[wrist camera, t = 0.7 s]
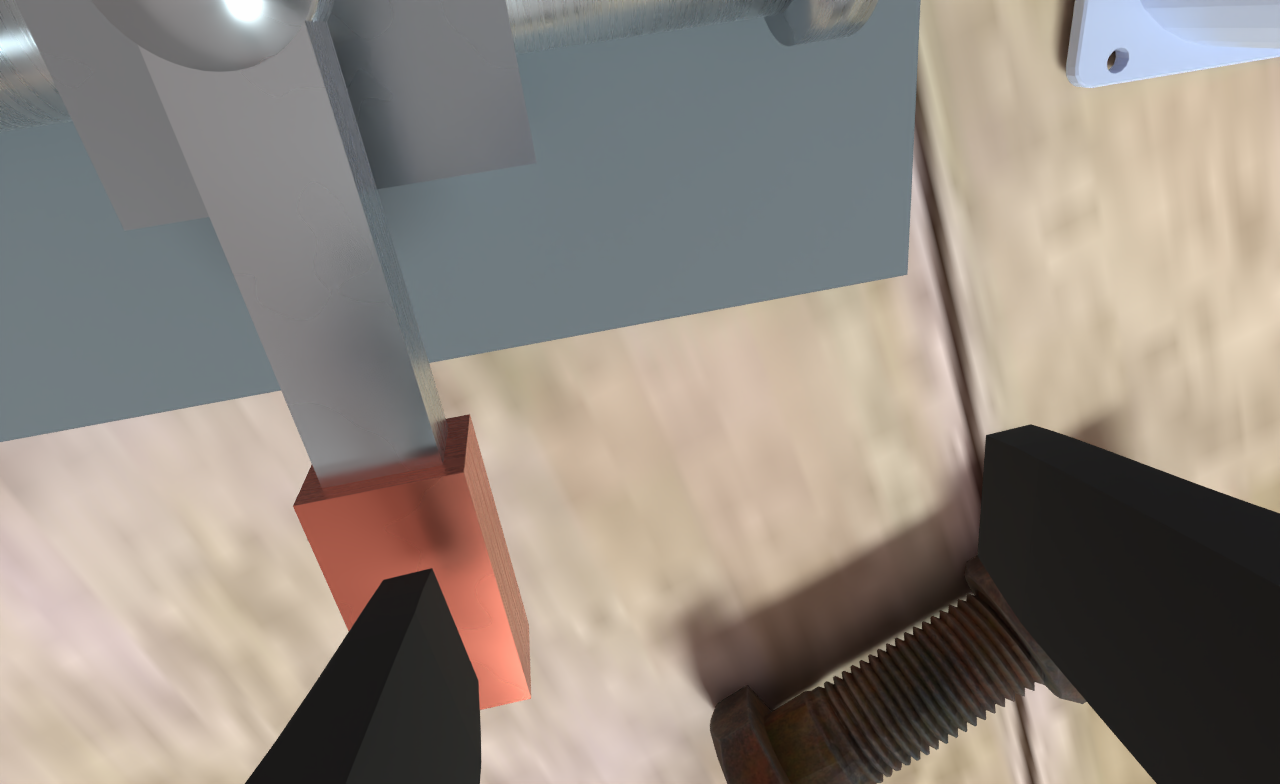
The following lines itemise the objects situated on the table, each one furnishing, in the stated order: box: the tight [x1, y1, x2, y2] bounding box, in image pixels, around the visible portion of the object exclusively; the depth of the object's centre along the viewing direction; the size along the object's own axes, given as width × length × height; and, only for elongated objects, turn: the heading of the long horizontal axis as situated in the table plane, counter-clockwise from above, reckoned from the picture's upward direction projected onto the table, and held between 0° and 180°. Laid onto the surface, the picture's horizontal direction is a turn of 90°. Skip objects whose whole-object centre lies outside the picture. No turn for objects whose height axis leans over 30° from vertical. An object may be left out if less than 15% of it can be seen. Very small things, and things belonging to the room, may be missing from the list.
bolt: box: [710, 555, 1087, 784], centre depth 23 cm, size 6×5×15 cm
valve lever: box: [91, 0, 531, 710], centre depth 9 cm, size 12×2×2 cm, turn 8°
